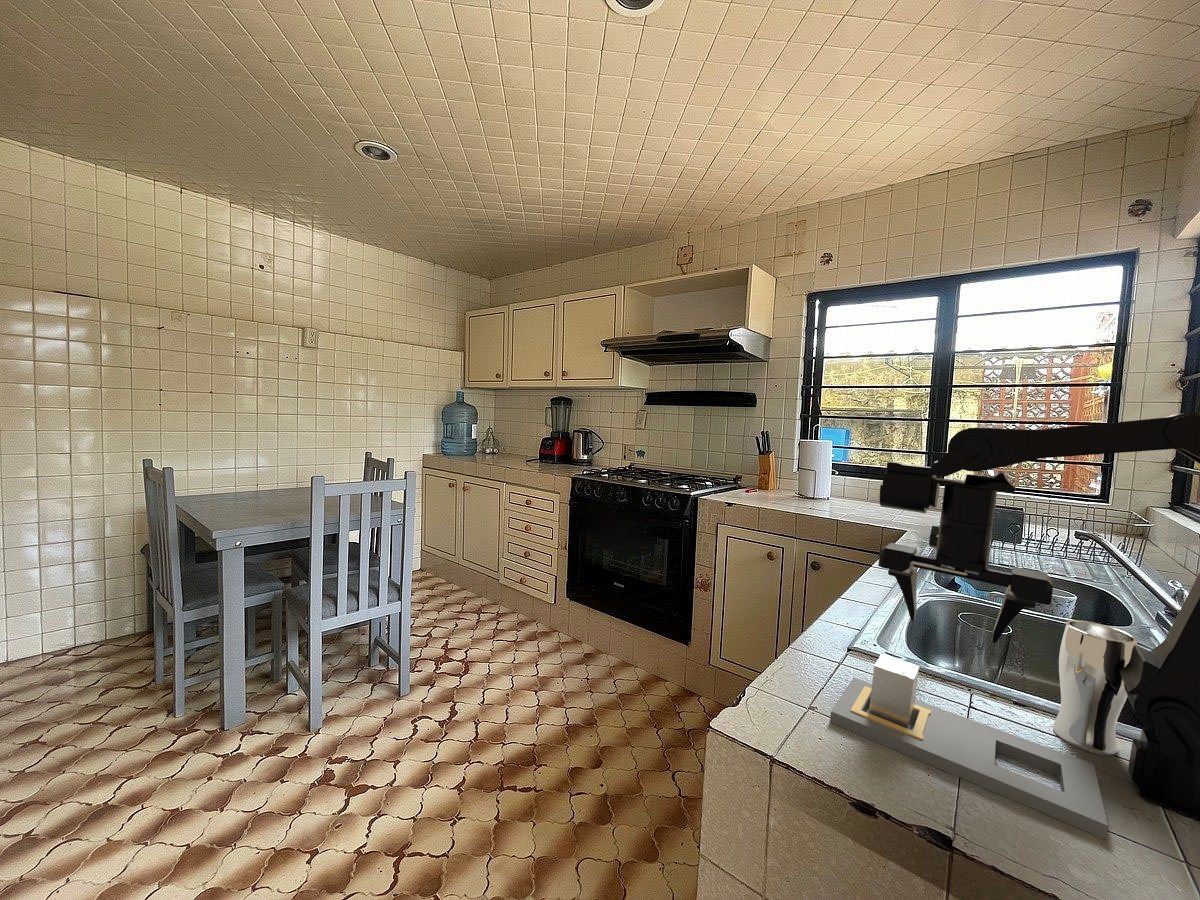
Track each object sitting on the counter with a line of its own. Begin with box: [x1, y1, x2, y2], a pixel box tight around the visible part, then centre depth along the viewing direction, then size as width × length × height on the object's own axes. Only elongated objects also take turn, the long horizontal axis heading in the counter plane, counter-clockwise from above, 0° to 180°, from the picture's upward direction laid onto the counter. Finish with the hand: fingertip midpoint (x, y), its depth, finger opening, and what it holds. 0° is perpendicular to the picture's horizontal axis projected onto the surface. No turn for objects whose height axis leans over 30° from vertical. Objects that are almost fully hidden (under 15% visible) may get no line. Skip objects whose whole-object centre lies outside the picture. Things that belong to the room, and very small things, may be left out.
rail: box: [829, 676, 1109, 840], centre depth 62 cm, size 26×12×2 cm, turn 50°
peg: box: [868, 653, 920, 730], centre depth 67 cm, size 4×4×8 cm
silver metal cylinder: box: [1052, 619, 1138, 756], centre depth 65 cm, size 7×7×15 cm
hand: (951, 630), depth 69 cm, fingers open, 9 cm apart
